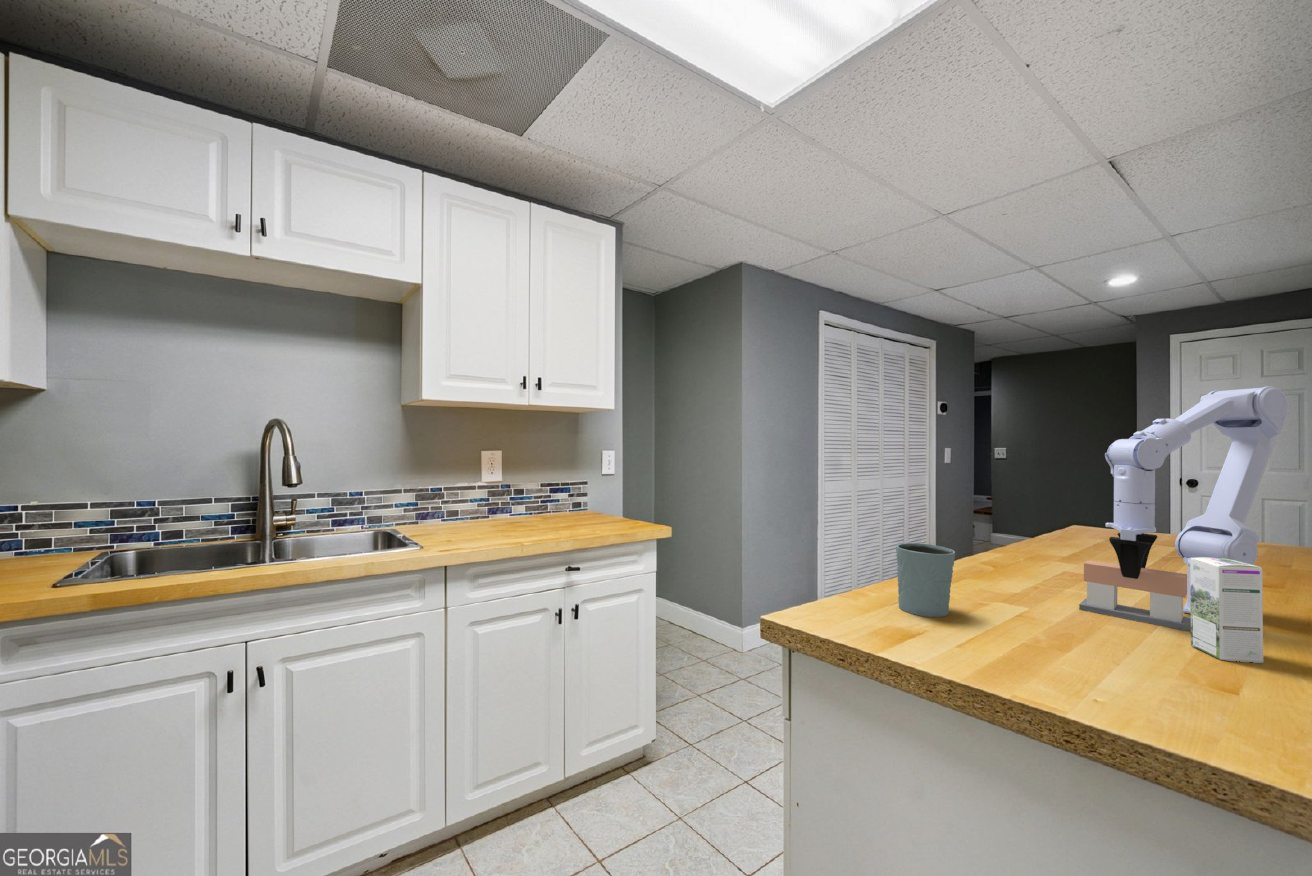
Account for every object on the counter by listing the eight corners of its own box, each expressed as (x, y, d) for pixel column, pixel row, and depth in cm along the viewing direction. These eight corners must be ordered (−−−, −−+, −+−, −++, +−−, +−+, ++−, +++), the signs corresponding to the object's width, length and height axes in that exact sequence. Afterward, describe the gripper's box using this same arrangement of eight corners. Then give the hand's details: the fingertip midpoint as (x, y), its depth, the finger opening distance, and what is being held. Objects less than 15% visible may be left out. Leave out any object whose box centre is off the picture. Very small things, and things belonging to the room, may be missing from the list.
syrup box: (1265, 664, 77) (1266, 566, 77) (1218, 660, 78) (1218, 564, 78) (1231, 649, 83) (1232, 558, 83) (1187, 645, 84) (1188, 556, 84)
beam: (1087, 577, 105) (1088, 560, 105) (1187, 593, 94) (1187, 574, 94) (1083, 581, 102) (1083, 563, 102) (1185, 597, 92) (1185, 577, 92)
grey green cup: (889, 600, 106) (889, 541, 106) (941, 603, 105) (942, 543, 105) (905, 617, 96) (906, 552, 96) (964, 620, 95) (964, 554, 95)
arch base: (1085, 603, 106) (1085, 576, 106) (1191, 623, 94) (1191, 593, 95) (1079, 609, 102) (1079, 581, 102) (1188, 631, 91) (1188, 599, 91)
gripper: (1112, 497, 106) (1112, 564, 106) (1099, 502, 96) (1098, 576, 96) (1160, 501, 101) (1160, 571, 101) (1151, 506, 91) (1150, 584, 91)
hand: (1133, 574), depth 98 cm, fingers open, 7 cm apart
